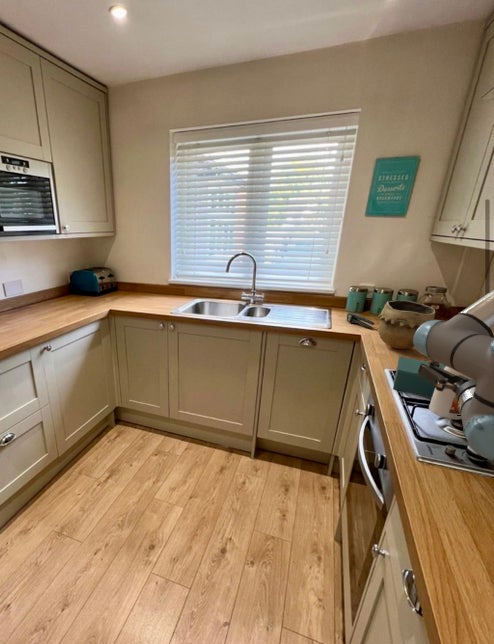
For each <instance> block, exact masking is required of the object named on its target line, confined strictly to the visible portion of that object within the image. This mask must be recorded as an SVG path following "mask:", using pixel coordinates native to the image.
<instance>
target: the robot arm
mask: <svg viewBox="0 0 494 644" xmlns="http://www.w3.org/2000/svg"><path fill="white" fill-rule="evenodd" d="M413 343H414V346H415V347H414V349H415V350H416V351H417V352H418V353H420V354H421V355H423V356H424V357H426V358H428V359H430V360H431V361H428V362H429V363H428V365H426V364H422V363H421V364H420V367H419V370H418V374H419V375H420V376H422V377H423V378H424V379H426V380H427V381H428V382H430V383H431V384H432V385H434V386H435V388H436V390H438V391H443V390H445V389H450V390H452V391H453V392H454V393H456V399H457V403H458V407H459V410H460V415H461V418H462V419H461V422H462V426H463V427H462V428H463V430H462V431H463V435H464V438H465V439H466V440H467V443H468V446H469V447H470V448H471V449H472V451H474V452H475V453H476V454H477V455H479V456H481V457H483V458H485V459H487V460H490V461H494V289H492V290H490V291H489V292H488V293H486V294H485V295H484V296H482V297H481V298H479V299H478V300H476V301H475V302H473V303H472V304H470V305H469V306H468V307H466V308H465V309H463V310H462V311H460V312H458V314H456V315H454V316H453V317H451V318H450V319H449V320H447V321H446V320H443V319H441V320H440V319H434V320H431V321H427V322H425V323H424V324H422V325H421V326H420V327H419V328H418V329H417V331H416V332H415V335H414V339H413ZM439 363H441V364H443V365H445V366H447V367H449V368H452V369H454V370H456V371H457V372H459V373H461V374H463V375H465V376H467V377H469V378H471V379H468V378H466V377H464V376H462V375H454V374H452V373H450V372H448V371H446V370H444V369H442V368H439ZM461 380H462V381H461Z"/></svg>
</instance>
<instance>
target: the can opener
mask: <svg viewBox="0 0 494 644" xmlns="http://www.w3.org/2000/svg"><path fill="white" fill-rule="evenodd" d="M346 321H347V322H348V323H350V324H358V325H360V326H362V327H364V328H366V329H369V330H373V326H374V325H375V322H374V321H372V320H370V319H368V318H366V317H364V316H362V315H360V314H358V313H354V312H348V313H347V314H346ZM371 325H372V326H371Z"/></svg>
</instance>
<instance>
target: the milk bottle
mask: <svg viewBox="0 0 494 644" xmlns="http://www.w3.org/2000/svg"><path fill="white" fill-rule="evenodd" d="M444 370H446V371H448V372H450V373H452V374H454V375H462V376H464V377H466V378H468V379H471V378H469V377H467V376H465V375H463V374H461V373H459V372H457V371H456V370H454V369H452V368H449V367H447V366H446V367H445V368H444ZM461 381H462V380H461ZM428 409H429V411H430V412H432V413H433V414H434V415H436V416H439V417H441V418H444V419H449V420H454V421H455V420H462V418H461V416H457V415H460V410H459V407H458V403H457V399H456V393H454V392H453V391H452V390H450V389H445V390H443V391H438V390H436V388H435V390H434V393H433V396H432V398H431V399H430V403H429V406H428Z"/></svg>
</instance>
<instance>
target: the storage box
mask: <svg viewBox="0 0 494 644" xmlns="http://www.w3.org/2000/svg"><path fill="white" fill-rule="evenodd" d="M429 362H430V361H425V360H420V359H415V358H410V357H405V356H399V355H398V360H397V366H396V371H395V374H394V380H393V387H392V389H393V390H396V391H400V390H401V391H400V392H404V393H408V394H413V395H416V396H417V395H418V396H422V397H426V398H431V399H432V396H433V393H434V390H435V386H434V385H432V384H431V383H430V382H428V381H427V380H426V379H424V378H423V377H422V376H420V375H419V374H418V370H419V367H420V364H421V363H422V364H426V365H428V363H429ZM445 367H446V366H445V365H443V364H439V368H442V369H444V368H445Z"/></svg>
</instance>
